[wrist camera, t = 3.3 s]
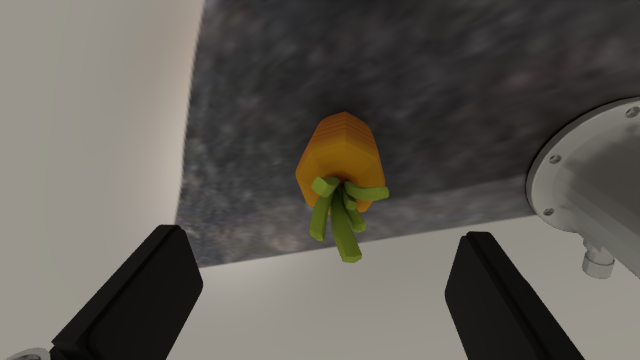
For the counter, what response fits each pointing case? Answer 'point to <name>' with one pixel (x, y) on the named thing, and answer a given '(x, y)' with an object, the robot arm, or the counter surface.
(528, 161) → the counter surface
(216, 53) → the counter surface
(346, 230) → the carrot
